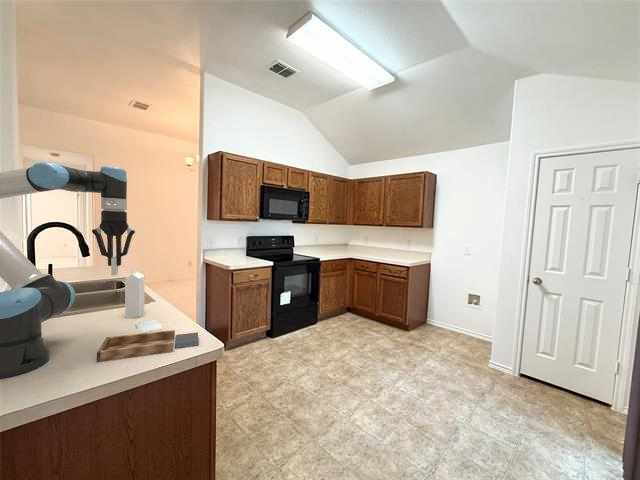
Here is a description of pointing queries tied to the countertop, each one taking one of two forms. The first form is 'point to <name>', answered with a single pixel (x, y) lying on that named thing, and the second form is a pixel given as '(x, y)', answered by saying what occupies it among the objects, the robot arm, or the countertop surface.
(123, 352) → the box
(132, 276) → the milk
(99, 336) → the countertop surface
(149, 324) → the hard drive
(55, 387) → the countertop surface
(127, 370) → the countertop surface
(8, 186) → the robot arm
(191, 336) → the grey square tile
